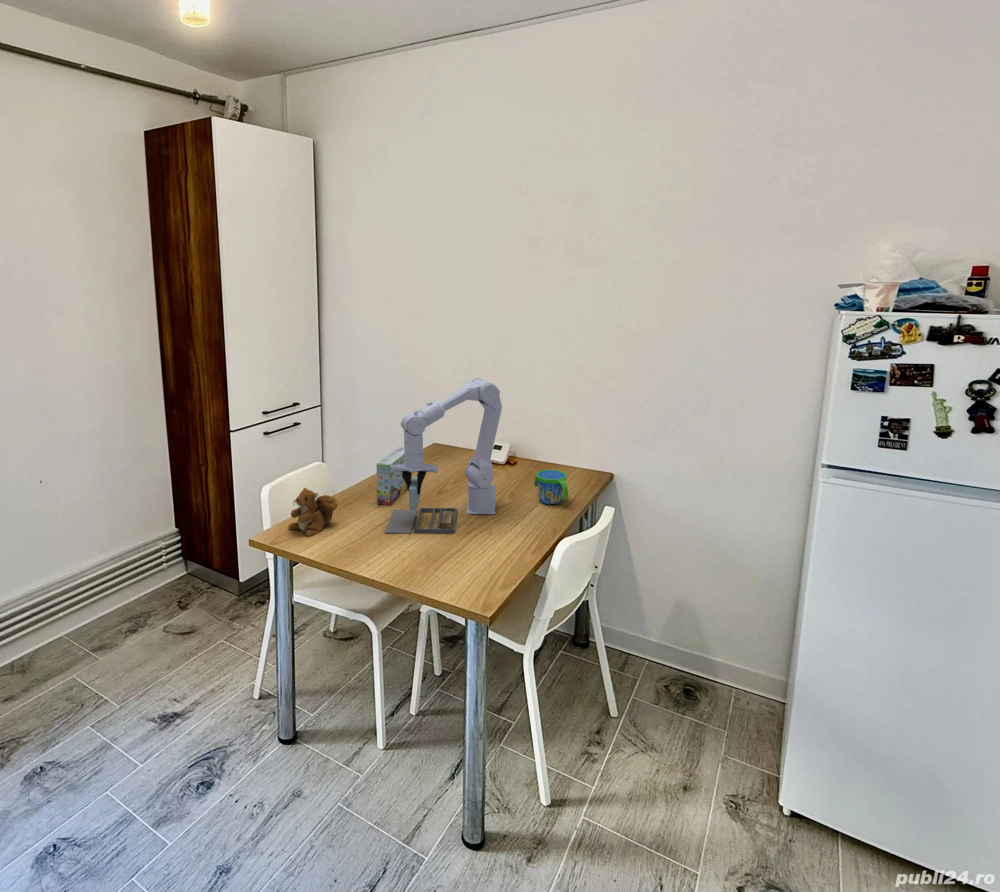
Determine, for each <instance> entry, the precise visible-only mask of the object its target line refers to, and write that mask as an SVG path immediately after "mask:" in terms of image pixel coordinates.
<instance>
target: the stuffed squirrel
mask: <svg viewBox="0 0 1000 892" xmlns="http://www.w3.org/2000/svg"><path fill="white" fill-rule="evenodd" d="M292 503H293V506H295V504H296V505H297V506H298V507H297V508H295V509H292V510H291V512H290V516H291V518H293V519H296V518H297V521H296V522H292V523H290V524H289V525H288V529H289V530H291V529H292V530H293V531H295V529H296V530H300V531H303V532H305V535H306V536H307V537H312V535H313V536H314V534H315V535H316V533H317V534H319V533H320V532H321V531H322V530H323V527H324V525H325V526H327V525H328V524H330V522H331V521H332V519H333V514H334V511H335V510H337V508H338V504H337V503H339V500H337V499H336V498H335V497H333V496H331V495H327V494H324V495H320V496H319V492H318V493H317V492H314V491H313V490H310V489H309V488H308V489H307V488H306V487H303V489H302V490H301V491H300V493H299V494H298V495H297V497H296V498H295V499H294V500H293V501H292Z"/></svg>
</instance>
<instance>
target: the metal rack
mask: <svg viewBox="0 0 1000 892" xmlns="http://www.w3.org/2000/svg"><path fill="white" fill-rule="evenodd" d="M443 511H453V517H452V524H451V529H441V521H442V516H443ZM423 513H431V517H430V520H429V525H428V528H419V526H420V521H421V519H422V514H423ZM436 513H438V518H437V522H436V523H437V524H436V528H433V526H434V521H435V517H436ZM457 515H458V508H457V507H419V509H418V512H417V518H416V519H415V520H416V521H415V523H414V526H413V534H434V535H435V534H437V535H438V534H450V535H452V534H454V535H455V530H456V526H457V525H456V524H457V523H456V522H457Z"/></svg>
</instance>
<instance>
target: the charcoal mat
mask: <svg viewBox="0 0 1000 892" xmlns="http://www.w3.org/2000/svg"><path fill="white" fill-rule="evenodd" d="M418 512H419V509H416V510H410V509H393V510H392V513H391V515H390V518H389V520H388V523H387V525H386V528H385V531H384V534H386V535H388V534H389V535H391V534H392V535H397V534H398V535H404V534H405V535H408V534H410V535H411V534H412V531H413V529H414V526H415V522H416V521H415V520H416V519H417V518H416V516H417V515H418Z"/></svg>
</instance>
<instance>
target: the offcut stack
mask: <svg viewBox="0 0 1000 892" xmlns="http://www.w3.org/2000/svg"><path fill="white" fill-rule="evenodd" d="M453 517H454V512H453V511H443V513H442V519H441V524H440V529H452V525H453Z"/></svg>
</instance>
